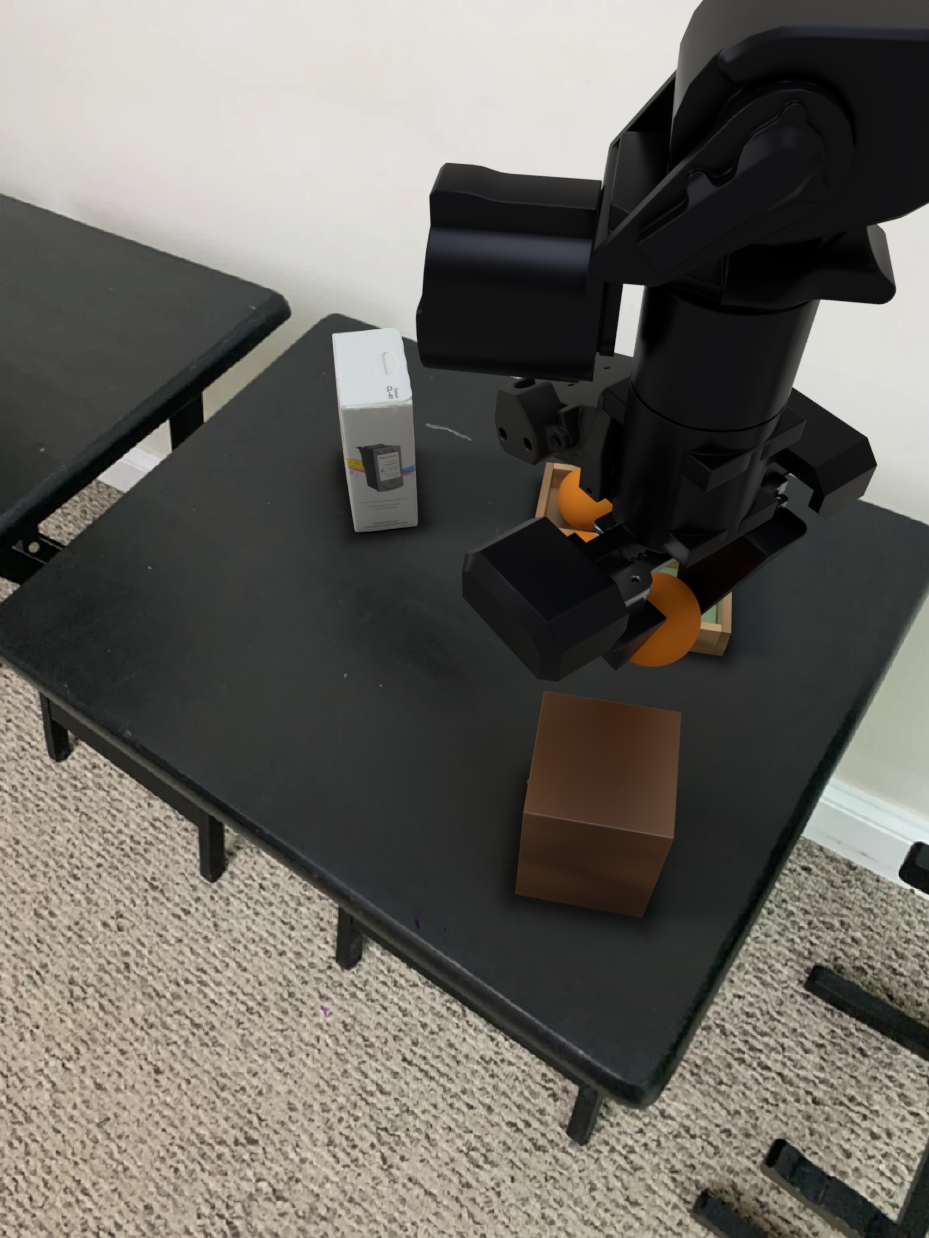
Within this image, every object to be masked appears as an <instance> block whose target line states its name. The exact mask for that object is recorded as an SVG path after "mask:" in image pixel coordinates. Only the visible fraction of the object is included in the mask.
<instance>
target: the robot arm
mask: <svg viewBox="0 0 929 1238" xmlns="http://www.w3.org/2000/svg"><path fill="white" fill-rule="evenodd" d="M678 48H679V49H678V57H677V65H676V69H674V71H673V72H672V73H671V74H670V76H669V77H668V78H667V79H666V80H665V81H664V82H663V84H662V85H661V86H660V87H659V88H658V89H657V90H656V91H655V92H654V94H653V95H652V96H650V98H649V99H648V100H647V101H646V103H645V104H644V105H643V106H642V107H641V108H640V109H639V110H638V111H637V113H636V114H635V115H634V116H633V117H632V118H631V120H629V122H628V123H627V124H626V125H625V126H624V127H623V128H622V130H620V131H619V133H618V134H617V135H616V136H615V137H614V139H613V140H612V141H611V142H610V143H609V146H608V149H607V156H606V162H605V167H604V172H603V177H602V180H601V179H593V178H592V179H591V178H576V177H566V176H565V177H564V176H552V175H551V176H549V175H538V174H536V175H535V174H523V173H512V172H511V173H510V172H503V171H499V170H496V169H493V168H491V167H487V166H484V165H480V164H472V163H460V162H459V163H458V162H445V163H444V164H442V166H441V167H440V168H439V169H438V173H437V175H436V177H435V180H434V182H433V185H432V187H431V191H430V192H429V195H428V203H429V204H428V205H429V229H428V236H427V241H426V247H425V254H424V264H423V272H422V273H423V274H422V275H423V276H422V289H421V296H420V298H419V302H418V304H417V306H416V311H415V335H416V344H417V351H418V356H419V361H420V362H421V364H422V366H423V368H425V369H431V370H441V371H449V372H450V371H451V372H452V371H453V372H460V373H461V372H462V373H471V374H481V375H489V376H490V375H492V376H502V377H511V378H512V377H513V378H517V379H515V380H513V381H511V382H508V383H506V384H504V385H502V386H500V387H497V394H496V402H495V409H494V410H495V411H494V423H495V429H496V434H497V438H498V442H499V444H500V446H501V448H502V449H503V451H504V452H505V453H506V454H507V455H510V456H511V457H514V458H517V459H518V460H521V461H523V462H525V463H528V464H529V465H531V466H537V465H539V464H541V463H543V462H545V461H546V460H548V459H549V460H550V459H551V458H555V459H557V460H560V461H562V462H564V463H566V464H568V465H573V466H576V467H579V468H581V470H580V479H579V488H580V489H581V490H583V491H584V492H585V493H586V494H587V495H588V496H589V497H590V498H592V499H593V500H594V501H595V502H597V503H598V502H600V501H602V500H604V499H607V500H608V501H609V502H610V503H611V504H612V505H613V506H612V511H610V512H609V513H607V514H605V515H603V516H601V517H599V518H598V519H596V520H595V521H594V525H593V529H594V531H595V532H596V533H597V534H598V535H599V536H597V537H595V538H593V539H591V540H589V541H588V542H585V541H584V540H583V539H582V538H581V537H580V536H579V535H578V534H577V533H575V532H574V533H572V534H570V535H568V536H566V535H565V534H564V533H563V532H562V531H561V530H560V529H559V528H558V527H557V526H556V525H555V524H554V523H552V522H551V521H550V520H549V519H548V518H547V517H546V516H543V517H538V518H535V517H534V518H530V519H528V520H526V521H524V522H522V523H520V524H518V525H517V526H514V527H513V528H510V529H509V530H507V531H505V532H503V533H501V534H499V535H497V536H495V537H493V538H491V539H490V540H488V541H486V542H484V543H482V544H480V545H478V546H477V547H474V548H473V549H470V550H469V551H466V552H465V553H464V557H463V558H464V559H463V563H462V568H461V588H462V589H461V590H462V591H461V593H462V596H461V597H462V598H463V599H464V601H466V603H467V604H468V605H469V606H470V608H472V610H474V611H475V613H476V614H477V615H478V616H479V617H480V618H481V619H482V620H483V621H484V623H485V624H487V626H488V627H489V629H491V630H492V631H493V632H494V633H495V635H496V636H497V637H498V638H499V639H500V640H501V641H502V642H503V643H504V644H505V646H506V647H508V649H509V650H510V651H511V652H512V653H513V654H514V655H515V656H516V657H517V659H518V660H519V661H520V662H521V663H522V664H523V665H524V666H525V667H526V668H527V669H528V671H529V672H530V673H531V674H532V675H533V676H534V677H535V678H536V679H537V680H541V681H548V682H556V683H559V682H560V681H562V680H563V679H565V678H567V677H568V676H570V675H571V674H573V673H575V672H577V671H578V670H580V669H581V668H583V667H584V666H586V665H588V664H589V663H591V662H593V661H594V660H596V659H598V658H600V657H601V658H602V659H603V660H604V661H605V662H606V663H607V664H608V666H609V667H611V668H612V669H613V670H614V671H617V670H619V669H620V668H622V667H623V666H624V665H625V664H627V662H629V659H630V658H631V657H632V656H633V655H634V654H635V653H636V652H637V651H638V650H639V649H640V648H641V647H642V646H643V645H644V644H645V642H646V641H647V640H648V639H649V638H650V637H651V636H652V635H653V634H654V633H655V632H656V631H657V630H658V629H659V628H660V627H661V626H662V625H663V624H664V623H665V621H666V620H667V617H666V616H665V615H664V614H663V613H662V612H660V611H659V610H658V609H657V608H656V607H655V606H654V605H653V604H652V603H651V602H650V601H649V600H648V599H646V598H647V594H648V593H650V591H651V589H652V585H653V578H652V574H654V573H656V572H658V571H659V570H661V569H663V568H664V567H666V566H668V565H669V564H671V563H673V562H675V561H677V562H678V563H679V566H678V572H677V578H678V579H680V580H681V581H683V582H684V583H685V584H686V585H687V586H688V587H689V588H690V589H691V591H692V592H693V593H694V595H695V597H696V599H697V601H698V603H699V607H700V611H701V616H702V615H703V614H704V613H706V612H707V611H708V610H709V609H711V608H712V607H713V606H714V605H716V604H717V603H718V602H719V601H721V600H722V599H723V598H724V597H726V596H727V595H728V594H729V593H731V592H732V593H733V591H735V590H736V589H737V588H739V587H740V586H741V585H743V584H744V583H745V582H746V581H748V580H749V579H750V578H752V577H753V576H754V575H755V574H757V573H758V572H759V571H760V570H762V569H763V568H764V567H765V566H767V565H768V564H769V563H771V562H772V561H773V560H775V559H776V558H777V557H779V555H781V554H782V553H784V552H785V551H786V550H787V549H789V548H790V547H792V546H793V545H794V544H796V543H797V542H799V541H801V540H802V539H803V538H804V537H805V536H806V534H807V533H808V525H807V523H806V521H804V520H803V519H802V518H801V517H800V516H798V515H797V514H795V513H794V512H793V511H792V510H791V509H789V508H787V505H788V503H789V497H788V496H787V495H786V494H784V493H785V491H786V489H787V487H788V483H789V479H788V478H787V476H789V475H792V476H793V477H794V478H796V479H798V481H800V482H802V483H803V484H804V485H805V486H807V487H808V488H810V489H811V490H812V491H813V492H812V494H811V497H810V499H809V502H808V504H807V507H808V508H809V509H811V510H812V511H813V512H815V513H816V514H817V515H819V516H820V517H822V518H823V519H824V520H826V519H827V518H829V517H831V516H833V515H834V514H836V513H837V512H839V511H841V510H842V509H844V508H846V507H847V506H849V505H850V504H852V503H854V502H856V501H857V500H859V499H860V498H862V497H864V496H865V494H866V491H867V490H868V487H869V485H870V483H871V481H872V478H873V476H874V474H875V472H876V469H877V467H878V463H877V460H876V457H875V454H874V451H873V448H872V446H871V443H870V440H869V437H867V436H866V435H864V434H863V433H862V432H860V431H859V430H857V429H856V428H855V427H853V426H852V425H850V424H849V423H847V422H845V421H844V420H842V419H841V418H840V417H838V416H837V415H835V414H834V413H832V412H831V411H829V409H826V408H825V407H823V406H822V405H820V404H819V403H818V402H816V401H814V400H813V399H811V398H810V397H809V396H807V395H806V394H804V393H802V392H801V391H800V390H798V389H797V388H795V387H793V386H794V383H795V380H796V378H797V377H796V376H797V374H798V371H799V367H800V365H801V362H802V359H803V355H804V352H805V349H806V346H807V343H808V340H809V337H810V335H811V330H812V327H813V325H814V322H815V319H816V316H817V312H818V309H819V307H820V304H821V301H833V302H845V303H855V304H866V305H867V304H868V305H877V306H878V305H880V306H881V305H886V304H888V303H889V302H891V301H892V300H893V299H894V297H895V296H896V294H897V284H896V279H895V274H894V269H893V264H892V259H891V254H890V249H889V244H888V239H887V238H888V237H887V234H886V232H885V230H884V229H883V228H882V227H881V226H880V225H879V224H882V223H887V222H891V221H895V220H896V221H897V220H899V219H902V218H904V217H906V216H909V215H910V214H912V213H914V212H916V211H917V210H920V209H921V208H923V207H925V206H927V205H929V0H702V1H701V2H700V3H699V5H697V6H696V8H695V9H694V11H693V12H692V15H691V17H690V19H689V22H688V24H687V27H686V29H685V31H684V33H683V35H682V38H681V41H680V42H679V47H678ZM624 285H629V286H631V285H632V286H641V287H642V286H643V291H642V296H641V302H640V308H639V309H640V310H639V316H638V324H637V329H636V336H635V342H634V348H633V355H632V356H631V355H627V354H623V353H619V352H615V350H616V344H617V343H616V342H617V335H618V328H619V320H620V313H621V306H622V305H621V304H622V300H623V299H622V298H623V292H624V291H623V290H624Z"/></svg>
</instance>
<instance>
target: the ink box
mask: <svg viewBox="0 0 929 1238" xmlns="http://www.w3.org/2000/svg"><path fill="white" fill-rule="evenodd" d="M331 336H332V338H331V339H332V346H333V347H332V349H333V361H334V362H333V363H334V373H335V385H336V397H337V408H338V418H339V427H340V428H339V429H340V437H341V444H342V452H343V454H342V455H343V461H344V468H345V476H346V482H347V489H348V496H349V503H350V507H351V508H350V509H351V514H352V515H351V516H352V522H353V528H354V531H355V533H368V532H377V531H378V532H379V531H386V530H393V529H401V528H402V529H403V528H411V527H412V528H413V527H417V526H418V524H419V515H418V512H419V511H418V491H417V472H416V471H417V469H416V449H415V448H416V447H415V429H414V410H413V409H414V408H413V407H414V406H413V391H412V387H411V379H410V375H409V372H408V363H407V357H406V354H405V346H404V342H403V337H402V331H401V330H400V328H399V327H398V328H397V327H385V328H384V327H383V328H376V329H367V330H359V331H358V330H357V331H344V332H333V333H332V334H331Z"/></svg>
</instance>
